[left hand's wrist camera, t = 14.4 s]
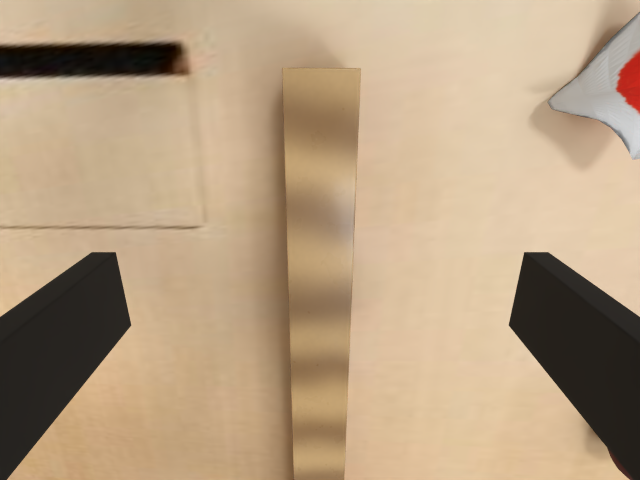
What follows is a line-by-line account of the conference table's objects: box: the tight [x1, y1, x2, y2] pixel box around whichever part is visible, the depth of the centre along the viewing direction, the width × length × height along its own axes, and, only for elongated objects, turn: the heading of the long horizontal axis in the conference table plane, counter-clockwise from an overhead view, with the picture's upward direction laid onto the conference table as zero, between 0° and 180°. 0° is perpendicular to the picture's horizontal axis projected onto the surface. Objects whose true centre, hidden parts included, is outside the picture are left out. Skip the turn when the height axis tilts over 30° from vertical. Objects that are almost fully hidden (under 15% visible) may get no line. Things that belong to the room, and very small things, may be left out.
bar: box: [282, 68, 361, 480], centre depth 39 cm, size 62×5×8 cm, turn 0°
